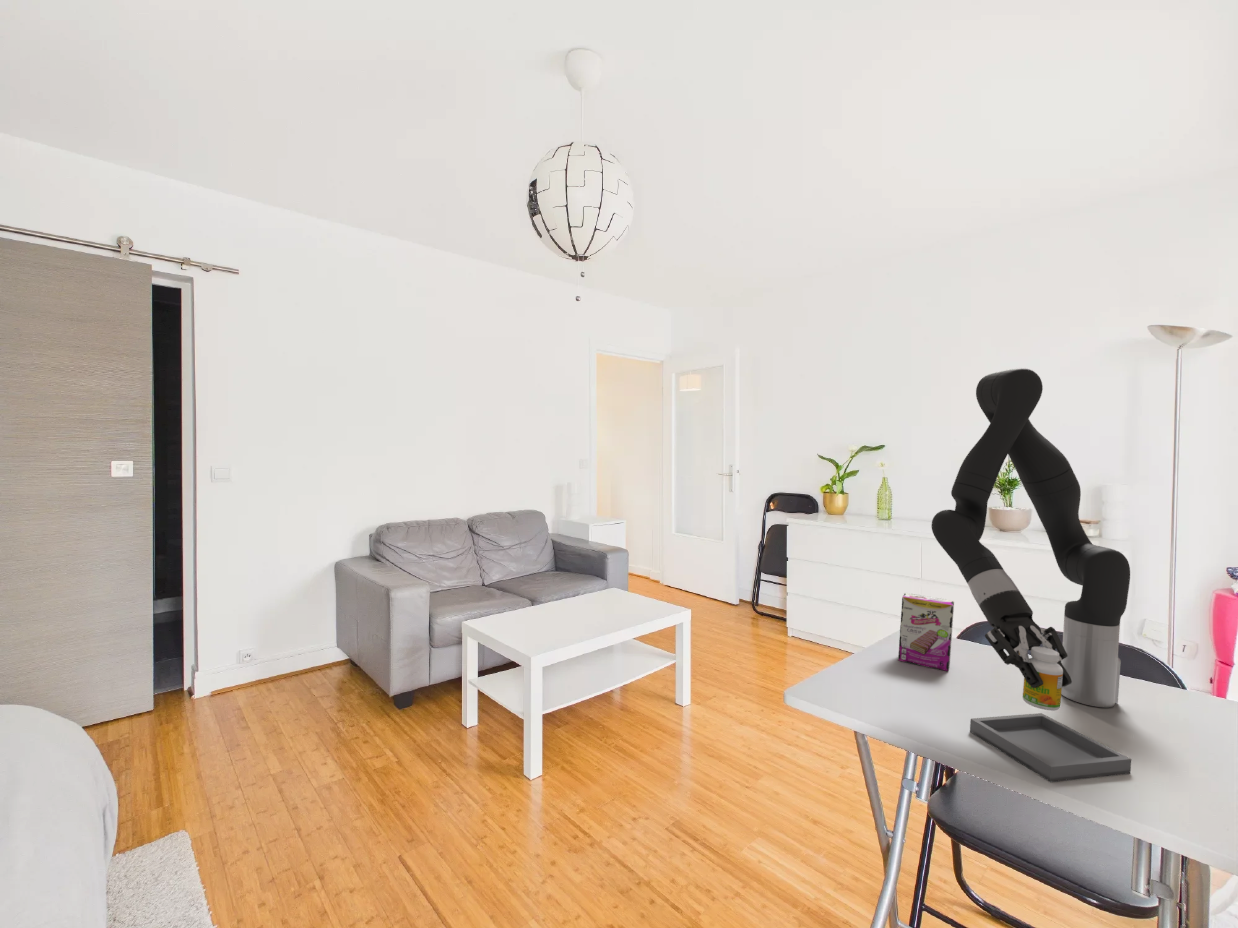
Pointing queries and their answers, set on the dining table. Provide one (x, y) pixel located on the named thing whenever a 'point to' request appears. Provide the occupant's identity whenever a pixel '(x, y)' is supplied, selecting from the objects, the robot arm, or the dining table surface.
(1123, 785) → the dining table surface
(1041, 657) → the supplement bottle
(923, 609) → the candy bar box
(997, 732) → the tray
